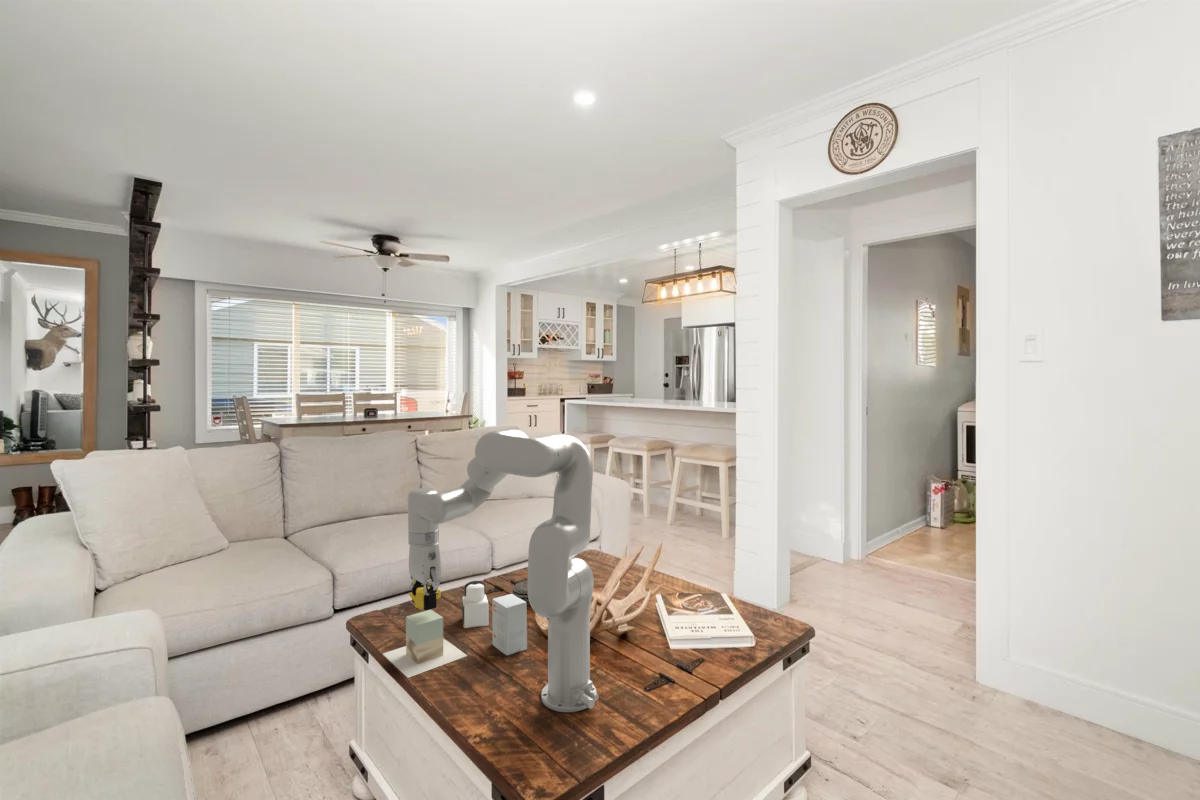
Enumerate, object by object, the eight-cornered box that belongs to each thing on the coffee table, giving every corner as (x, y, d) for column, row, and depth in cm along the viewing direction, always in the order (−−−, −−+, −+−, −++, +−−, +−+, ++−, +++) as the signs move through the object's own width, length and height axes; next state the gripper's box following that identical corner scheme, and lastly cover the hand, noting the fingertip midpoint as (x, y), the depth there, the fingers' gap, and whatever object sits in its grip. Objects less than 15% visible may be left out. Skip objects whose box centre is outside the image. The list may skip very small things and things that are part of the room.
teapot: (407, 613, 141) (407, 593, 141) (409, 604, 147) (409, 585, 147) (440, 610, 143) (440, 590, 143) (441, 601, 149) (440, 582, 149)
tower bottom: (443, 655, 146) (443, 636, 145) (417, 664, 141) (417, 644, 141) (431, 645, 151) (431, 627, 151) (406, 654, 146) (406, 635, 146)
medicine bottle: (462, 619, 168) (461, 580, 168) (486, 616, 170) (485, 577, 170) (463, 629, 161) (463, 588, 161) (488, 626, 164) (488, 585, 163)
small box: (527, 649, 149) (527, 601, 149) (506, 657, 145) (506, 608, 145) (512, 638, 156) (511, 592, 155) (491, 645, 152) (491, 598, 151)
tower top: (443, 636, 145) (443, 617, 145) (417, 644, 141) (417, 625, 140) (431, 627, 151) (431, 609, 150) (406, 635, 146) (405, 616, 146)
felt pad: (467, 657, 145) (467, 655, 145) (408, 679, 135) (408, 677, 134) (439, 636, 157) (439, 634, 157) (382, 655, 146) (382, 653, 146)
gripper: (452, 541, 141) (453, 611, 141) (422, 527, 154) (423, 591, 154) (424, 547, 136) (425, 619, 136) (395, 532, 149) (396, 599, 149)
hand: (424, 604), depth 145 cm, fingers closed on teapot, 6 cm apart
